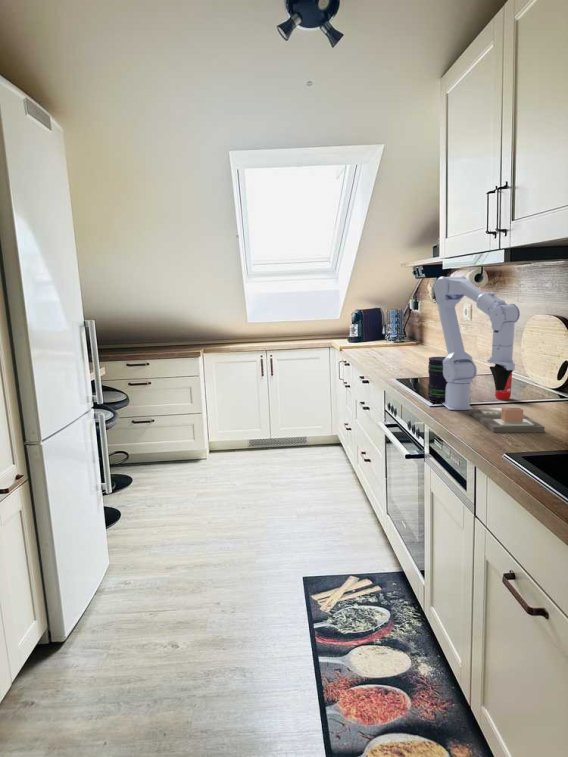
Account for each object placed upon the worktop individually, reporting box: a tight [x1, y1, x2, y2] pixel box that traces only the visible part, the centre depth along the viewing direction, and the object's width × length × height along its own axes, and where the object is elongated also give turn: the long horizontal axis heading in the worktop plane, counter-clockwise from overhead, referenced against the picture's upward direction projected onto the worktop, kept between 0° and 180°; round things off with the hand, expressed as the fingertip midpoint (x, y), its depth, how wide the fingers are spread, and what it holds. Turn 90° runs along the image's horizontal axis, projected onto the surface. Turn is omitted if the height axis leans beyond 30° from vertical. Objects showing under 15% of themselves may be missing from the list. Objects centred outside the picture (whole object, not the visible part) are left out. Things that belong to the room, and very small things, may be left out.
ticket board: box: [468, 407, 545, 433], centre depth 154 cm, size 22×14×2 cm, turn 178°
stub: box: [493, 407, 534, 426], centre depth 147 cm, size 6×9×4 cm, turn 88°
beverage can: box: [494, 372, 513, 401], centre depth 186 cm, size 5×5×12 cm
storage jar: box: [427, 356, 456, 403], centre depth 186 cm, size 10×10×15 cm
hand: (499, 390), depth 155 cm, fingers closed
